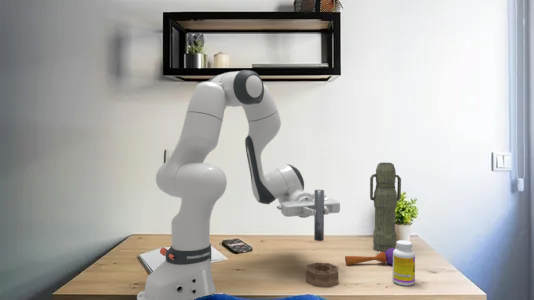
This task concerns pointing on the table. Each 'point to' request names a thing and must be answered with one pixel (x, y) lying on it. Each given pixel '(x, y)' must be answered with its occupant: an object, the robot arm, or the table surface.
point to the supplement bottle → (403, 263)
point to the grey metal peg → (319, 215)
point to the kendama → (372, 258)
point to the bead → (322, 274)
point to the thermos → (385, 206)
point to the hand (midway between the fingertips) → (320, 212)
